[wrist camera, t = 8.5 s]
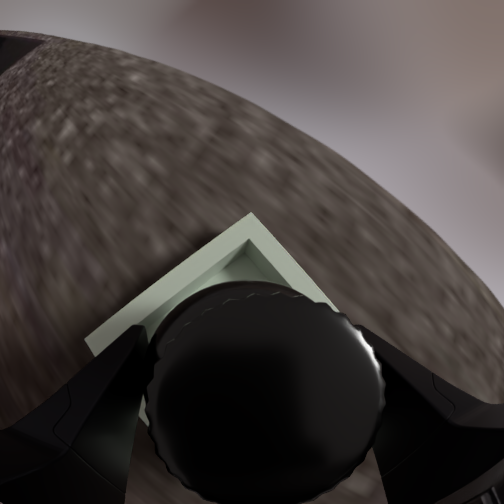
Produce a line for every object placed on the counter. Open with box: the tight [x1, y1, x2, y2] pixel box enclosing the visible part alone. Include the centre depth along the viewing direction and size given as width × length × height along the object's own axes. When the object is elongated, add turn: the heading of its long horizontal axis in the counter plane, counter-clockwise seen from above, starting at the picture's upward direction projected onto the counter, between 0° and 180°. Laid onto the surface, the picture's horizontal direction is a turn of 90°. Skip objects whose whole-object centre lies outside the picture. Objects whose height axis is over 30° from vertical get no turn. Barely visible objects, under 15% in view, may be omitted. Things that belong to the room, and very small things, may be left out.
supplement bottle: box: [142, 279, 386, 504], centre depth 10 cm, size 7×7×12 cm
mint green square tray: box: [84, 212, 339, 426], centre depth 15 cm, size 12×12×3 cm
